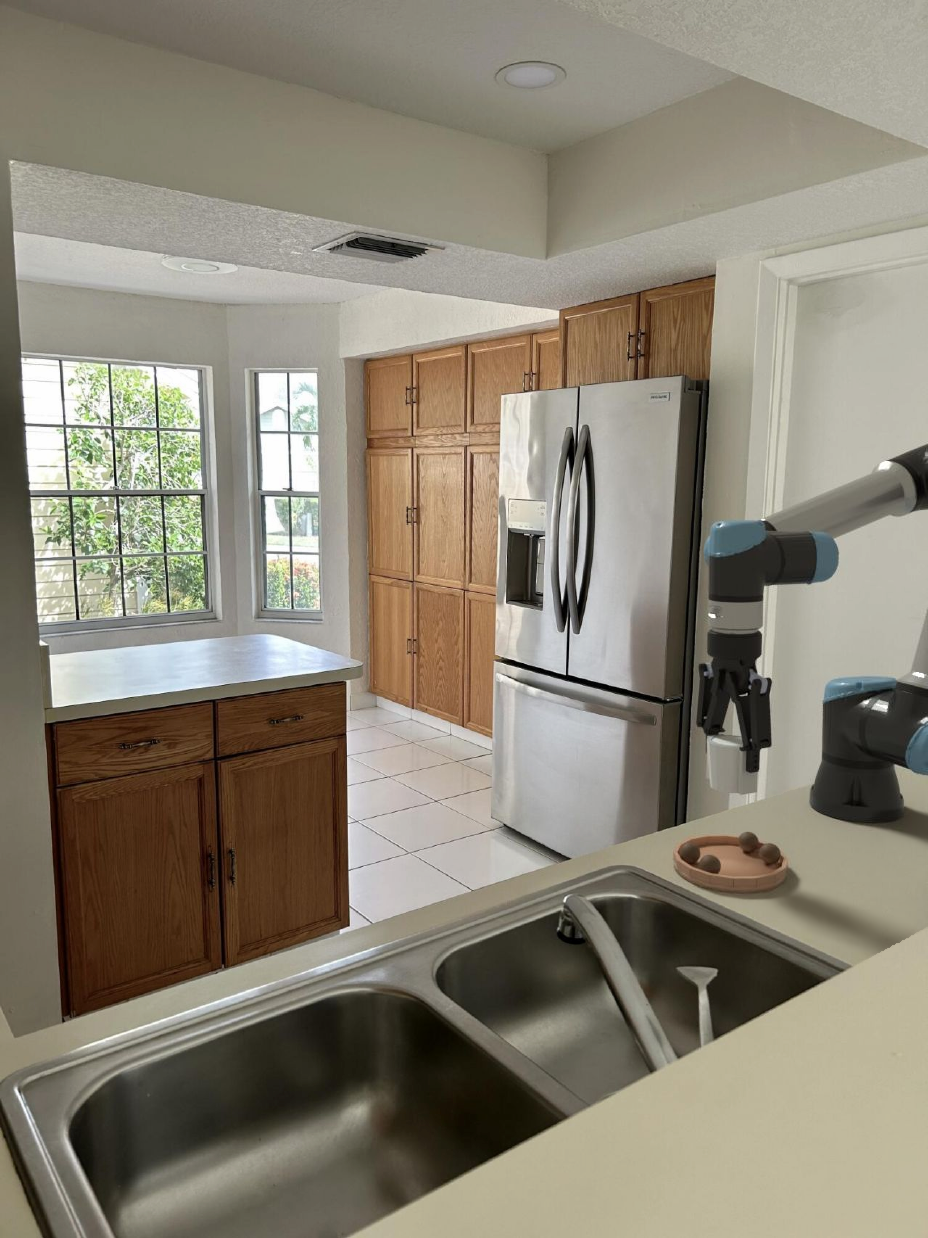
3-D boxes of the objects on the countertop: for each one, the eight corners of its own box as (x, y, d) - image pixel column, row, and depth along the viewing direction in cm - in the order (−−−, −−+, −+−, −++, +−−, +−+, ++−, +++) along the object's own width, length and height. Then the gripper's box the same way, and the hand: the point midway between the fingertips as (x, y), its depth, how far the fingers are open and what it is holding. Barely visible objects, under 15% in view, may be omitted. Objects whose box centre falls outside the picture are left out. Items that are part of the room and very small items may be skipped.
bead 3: (749, 846, 141) (750, 827, 140) (762, 853, 138) (763, 834, 138) (733, 849, 140) (734, 830, 139) (746, 856, 137) (746, 837, 137)
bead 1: (692, 857, 137) (692, 838, 137) (704, 864, 134) (704, 845, 134) (675, 860, 136) (675, 841, 136) (687, 868, 133) (687, 848, 133)
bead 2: (712, 869, 133) (712, 850, 132) (725, 877, 130) (725, 857, 129) (694, 873, 132) (695, 853, 131) (707, 881, 129) (707, 861, 128)
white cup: (757, 795, 129) (758, 747, 128) (707, 793, 130) (708, 745, 129) (752, 780, 136) (753, 735, 135) (704, 778, 137) (705, 733, 136)
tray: (739, 841, 145) (739, 828, 145) (811, 881, 130) (811, 866, 130) (653, 858, 140) (653, 844, 139) (717, 901, 125) (717, 886, 124)
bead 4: (771, 857, 136) (771, 838, 136) (784, 865, 134) (785, 845, 133) (754, 861, 135) (755, 842, 135) (768, 869, 132) (768, 849, 132)
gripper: (672, 622, 138) (670, 769, 141) (758, 641, 119) (753, 810, 123) (714, 618, 140) (711, 763, 143) (804, 637, 122) (798, 802, 125)
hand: (730, 784), depth 133 cm, fingers closed on white cup, 7 cm apart
